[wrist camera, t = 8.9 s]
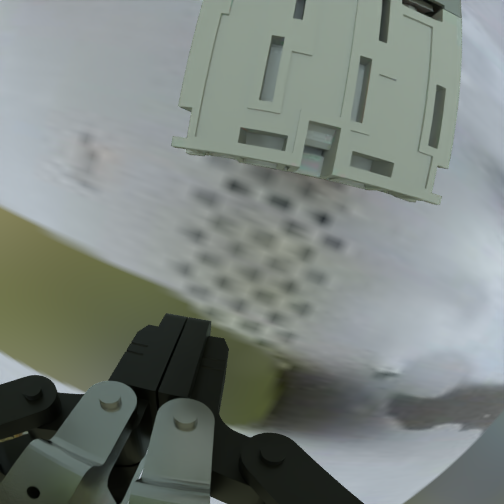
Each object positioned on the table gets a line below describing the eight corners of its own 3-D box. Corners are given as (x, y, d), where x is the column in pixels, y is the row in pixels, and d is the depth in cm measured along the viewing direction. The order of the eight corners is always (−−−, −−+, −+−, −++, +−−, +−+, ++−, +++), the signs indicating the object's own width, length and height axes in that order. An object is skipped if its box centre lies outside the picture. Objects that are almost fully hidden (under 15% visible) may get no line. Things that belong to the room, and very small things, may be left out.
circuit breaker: (363, 8, 17) (443, -101, 3) (335, 173, 22) (437, 214, 8) (268, -13, 17) (262, -148, 3) (234, 153, 22) (169, 155, 8)
